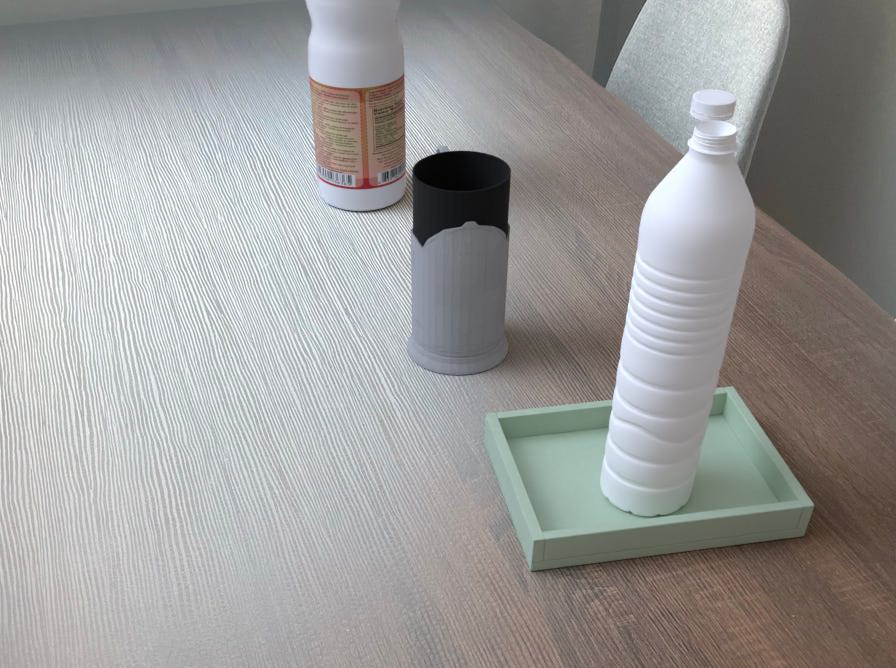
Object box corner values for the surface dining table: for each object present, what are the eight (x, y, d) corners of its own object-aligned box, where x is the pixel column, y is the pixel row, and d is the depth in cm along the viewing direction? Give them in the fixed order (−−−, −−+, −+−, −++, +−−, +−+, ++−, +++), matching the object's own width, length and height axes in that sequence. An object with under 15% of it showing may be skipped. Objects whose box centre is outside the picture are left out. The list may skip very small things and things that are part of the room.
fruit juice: (317, 215, 106) (291, -116, 85) (318, 176, 112) (294, -140, 92) (408, 212, 106) (403, -118, 86) (404, 173, 113) (399, -142, 92)
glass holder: (415, 379, 85) (413, 199, 74) (391, 295, 95) (386, 124, 84) (518, 369, 86) (531, 190, 75) (484, 286, 95) (491, 117, 84)
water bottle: (690, 523, 71) (782, 153, 53) (596, 513, 72) (654, 145, 54) (689, 448, 77) (772, 91, 59) (602, 439, 78) (657, 85, 59)
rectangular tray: (725, 416, 81) (733, 385, 79) (804, 536, 71) (815, 505, 69) (483, 443, 79) (485, 413, 77) (530, 571, 69) (533, 540, 67)
